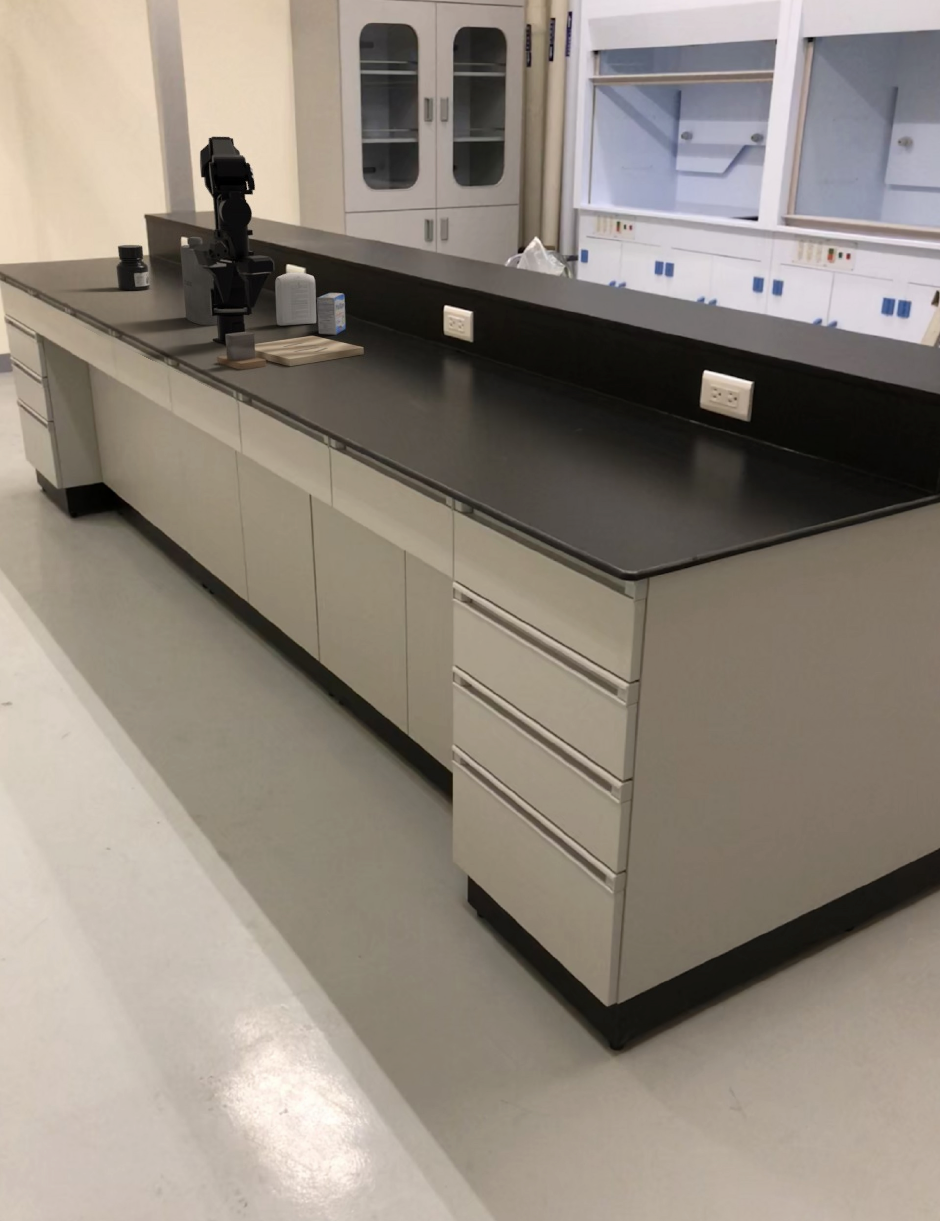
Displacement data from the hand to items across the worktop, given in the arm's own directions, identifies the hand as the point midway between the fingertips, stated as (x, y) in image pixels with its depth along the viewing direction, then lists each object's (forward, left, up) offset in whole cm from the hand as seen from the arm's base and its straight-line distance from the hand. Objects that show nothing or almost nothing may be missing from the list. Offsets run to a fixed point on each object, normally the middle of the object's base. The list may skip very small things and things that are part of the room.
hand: (238, 304), depth 227 cm
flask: (-50, +22, -12) cm, 56 cm away
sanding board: (-1, +16, -12) cm, 20 cm away
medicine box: (-18, +38, -12) cm, 44 cm away
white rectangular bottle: (-32, +38, -12) cm, 51 cm away
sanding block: (0, 0, -12) cm, 12 cm away
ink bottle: (-109, +37, -12) cm, 116 cm away
